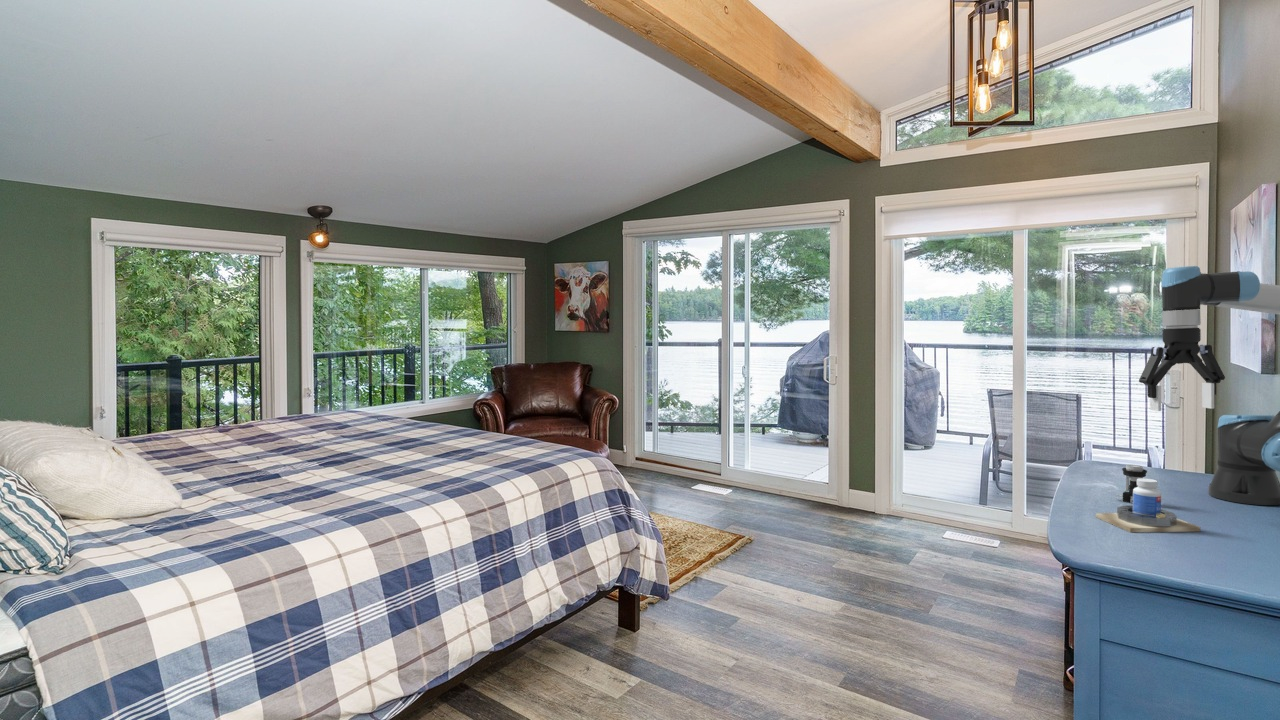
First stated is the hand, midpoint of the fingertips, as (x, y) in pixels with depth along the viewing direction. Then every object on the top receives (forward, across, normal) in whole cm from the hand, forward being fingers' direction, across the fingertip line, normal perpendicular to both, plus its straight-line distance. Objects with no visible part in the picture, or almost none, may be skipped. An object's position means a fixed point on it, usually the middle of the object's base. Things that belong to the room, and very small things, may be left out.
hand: (1181, 409), depth 167 cm
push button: (+26, +8, -7) cm, 28 cm away
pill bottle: (+25, +18, +11) cm, 33 cm away
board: (+26, +19, +12) cm, 34 cm away
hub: (+26, +19, +12) cm, 34 cm away
